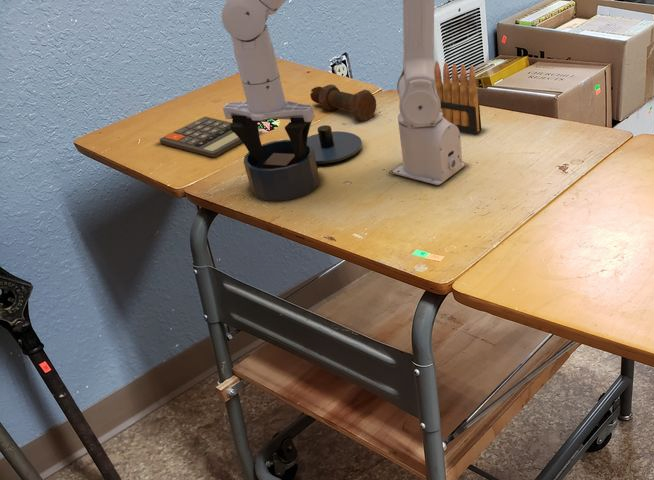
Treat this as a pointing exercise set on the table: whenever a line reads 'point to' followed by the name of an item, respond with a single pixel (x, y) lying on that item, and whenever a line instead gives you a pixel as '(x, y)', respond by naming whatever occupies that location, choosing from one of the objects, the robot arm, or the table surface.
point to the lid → (333, 145)
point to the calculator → (203, 137)
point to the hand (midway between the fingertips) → (280, 161)
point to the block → (279, 161)
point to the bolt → (345, 101)
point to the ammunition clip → (459, 98)
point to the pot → (282, 174)
